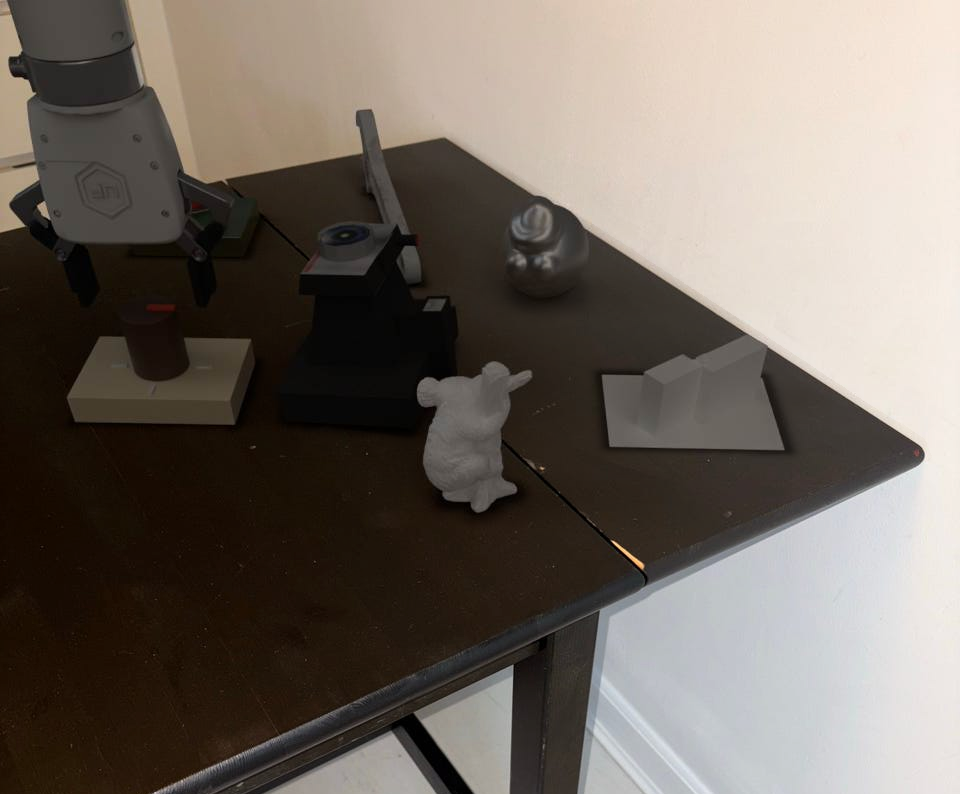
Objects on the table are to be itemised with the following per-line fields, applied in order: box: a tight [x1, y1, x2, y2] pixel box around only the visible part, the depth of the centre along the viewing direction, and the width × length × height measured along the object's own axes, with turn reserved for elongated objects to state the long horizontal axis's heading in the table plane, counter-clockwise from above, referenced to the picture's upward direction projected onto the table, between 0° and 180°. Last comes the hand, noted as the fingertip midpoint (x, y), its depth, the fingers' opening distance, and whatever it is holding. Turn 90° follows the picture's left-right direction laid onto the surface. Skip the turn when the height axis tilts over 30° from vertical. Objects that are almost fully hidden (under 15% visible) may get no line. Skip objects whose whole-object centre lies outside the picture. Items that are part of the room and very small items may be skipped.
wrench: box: [355, 108, 422, 285], centre depth 110 cm, size 8×2×30 cm
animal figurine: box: [417, 361, 533, 514], centre depth 75 cm, size 8×7×12 cm
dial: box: [117, 294, 190, 381], centre depth 85 cm, size 5×5×6 cm
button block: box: [130, 197, 261, 258], centre depth 109 cm, size 12×10×4 cm
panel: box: [66, 336, 256, 426], centre depth 88 cm, size 14×10×3 cm
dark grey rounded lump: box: [500, 195, 590, 299], centre depth 98 cm, size 9×10×10 cm
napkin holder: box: [601, 334, 785, 451], centre depth 85 cm, size 15×11×6 cm
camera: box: [276, 220, 460, 429], centre depth 85 cm, size 16×14×15 cm
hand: (148, 299), depth 82 cm, fingers open, 9 cm apart
